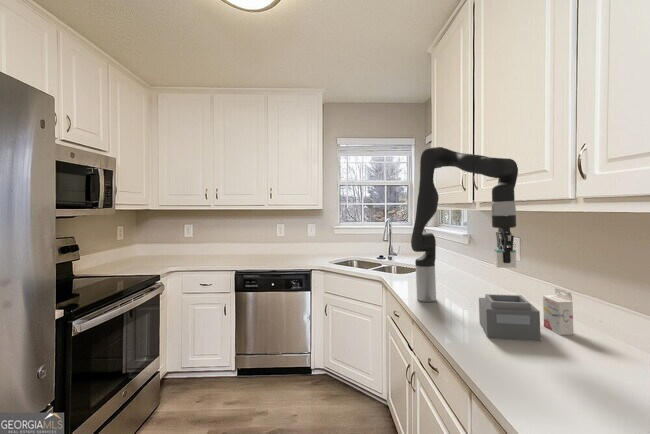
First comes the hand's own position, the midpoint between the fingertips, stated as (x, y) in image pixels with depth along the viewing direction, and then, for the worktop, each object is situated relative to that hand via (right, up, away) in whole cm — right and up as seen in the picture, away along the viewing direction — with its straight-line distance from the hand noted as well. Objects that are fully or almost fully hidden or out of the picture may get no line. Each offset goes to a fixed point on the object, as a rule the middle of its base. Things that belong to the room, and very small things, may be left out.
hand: (505, 261), depth 111 cm
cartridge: (0, -2, 0) cm, 2 cm away
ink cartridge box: (+19, -25, -1) cm, 31 cm away
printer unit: (+1, -25, +1) cm, 25 cm away
